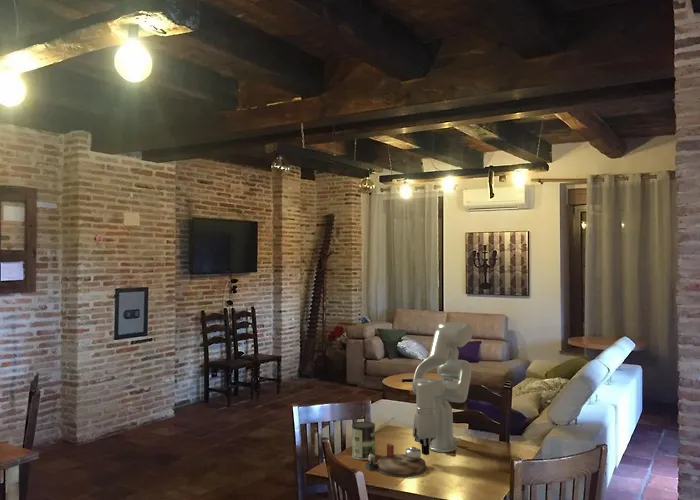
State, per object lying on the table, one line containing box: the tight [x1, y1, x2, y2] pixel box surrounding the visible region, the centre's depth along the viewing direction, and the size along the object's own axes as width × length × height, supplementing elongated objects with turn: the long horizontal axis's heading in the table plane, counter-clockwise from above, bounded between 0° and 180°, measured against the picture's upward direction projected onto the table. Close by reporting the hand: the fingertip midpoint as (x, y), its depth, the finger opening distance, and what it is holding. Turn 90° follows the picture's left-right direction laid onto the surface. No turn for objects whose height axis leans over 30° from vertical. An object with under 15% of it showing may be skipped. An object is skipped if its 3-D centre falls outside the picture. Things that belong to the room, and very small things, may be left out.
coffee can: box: [351, 421, 376, 461], centre depth 259 cm, size 10×10×14 cm
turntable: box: [377, 443, 426, 476], centre depth 244 cm, size 20×20×7 cm
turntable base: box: [376, 463, 428, 478], centre depth 244 cm, size 21×21×1 cm
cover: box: [405, 446, 422, 462], centre depth 247 cm, size 6×6×5 cm
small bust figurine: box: [365, 454, 378, 471], centre depth 244 cm, size 4×3×6 cm
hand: (425, 454), depth 250 cm, fingers closed
